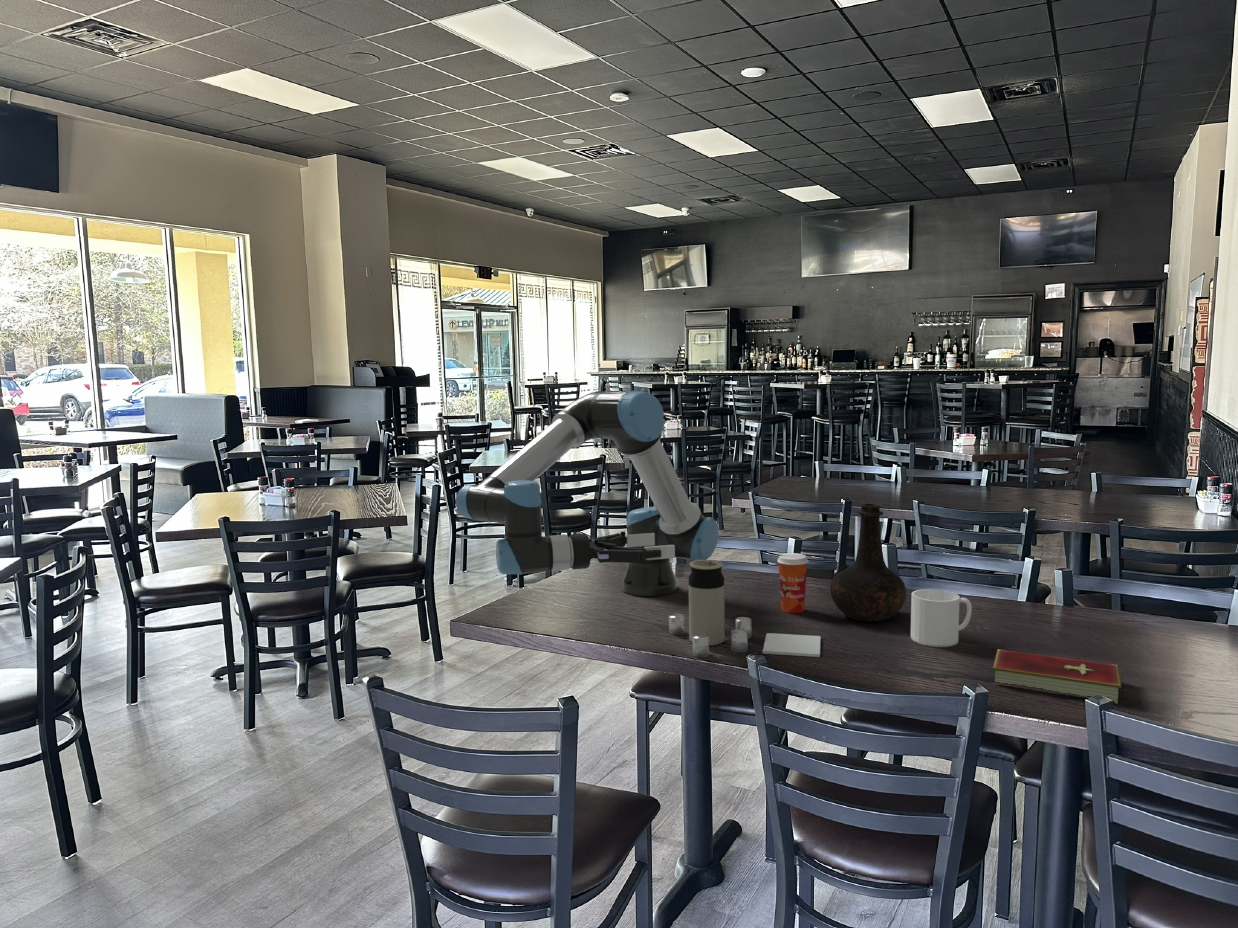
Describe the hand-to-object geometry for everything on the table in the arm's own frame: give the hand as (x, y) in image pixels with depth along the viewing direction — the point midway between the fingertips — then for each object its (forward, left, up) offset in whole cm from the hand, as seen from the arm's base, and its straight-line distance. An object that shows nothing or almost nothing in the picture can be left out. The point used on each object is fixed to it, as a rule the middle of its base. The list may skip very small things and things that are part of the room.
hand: (664, 544), depth 181 cm
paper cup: (-32, +27, -23) cm, 48 cm away
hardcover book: (+7, +78, -24) cm, 81 cm away
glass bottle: (-30, +45, -23) cm, 59 cm away
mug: (-15, +60, -23) cm, 66 cm away
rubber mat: (-5, +28, -23) cm, 36 cm away
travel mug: (-5, +9, -23) cm, 25 cm away
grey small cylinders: (-5, +9, -23) cm, 25 cm away
